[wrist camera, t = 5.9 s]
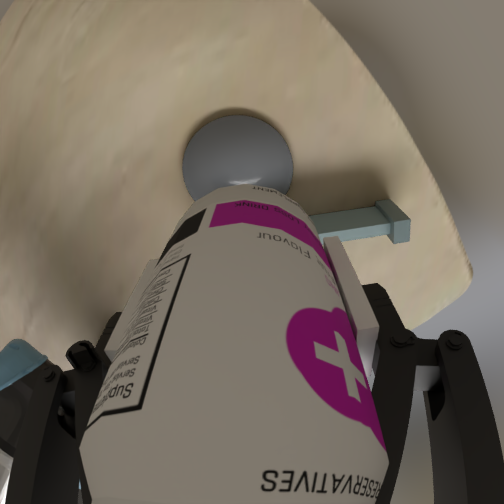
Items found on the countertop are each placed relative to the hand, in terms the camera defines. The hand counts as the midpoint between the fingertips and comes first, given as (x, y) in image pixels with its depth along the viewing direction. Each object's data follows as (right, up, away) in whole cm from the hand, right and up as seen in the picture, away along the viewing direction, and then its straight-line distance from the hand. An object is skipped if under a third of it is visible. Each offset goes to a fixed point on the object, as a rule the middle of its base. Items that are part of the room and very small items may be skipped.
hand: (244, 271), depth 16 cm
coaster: (-1, +9, +15) cm, 17 cm away
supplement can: (0, +1, +2) cm, 2 cm away
